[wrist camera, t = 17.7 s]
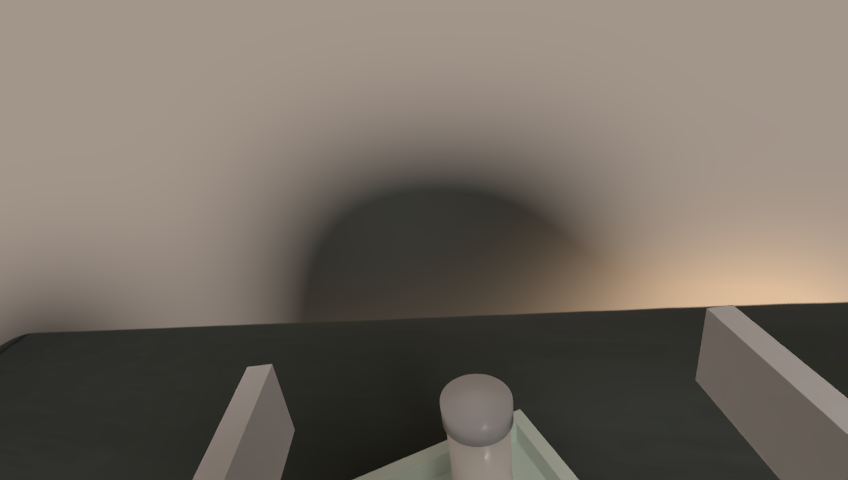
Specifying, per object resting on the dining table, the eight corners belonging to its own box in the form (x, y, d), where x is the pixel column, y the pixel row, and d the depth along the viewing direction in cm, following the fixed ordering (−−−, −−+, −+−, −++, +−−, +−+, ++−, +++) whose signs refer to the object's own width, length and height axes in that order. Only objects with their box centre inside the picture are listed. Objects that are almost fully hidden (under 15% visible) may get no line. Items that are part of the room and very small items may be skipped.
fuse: (530, 559, 31) (527, 409, 26) (475, 589, 30) (459, 439, 24) (498, 505, 35) (489, 365, 30) (448, 530, 34) (428, 388, 28)
